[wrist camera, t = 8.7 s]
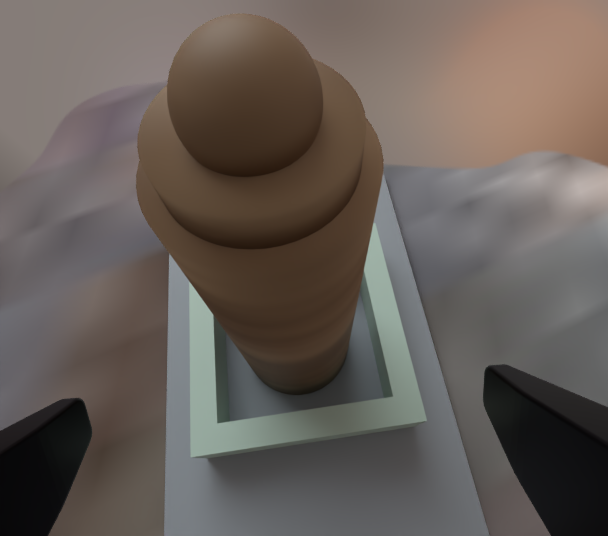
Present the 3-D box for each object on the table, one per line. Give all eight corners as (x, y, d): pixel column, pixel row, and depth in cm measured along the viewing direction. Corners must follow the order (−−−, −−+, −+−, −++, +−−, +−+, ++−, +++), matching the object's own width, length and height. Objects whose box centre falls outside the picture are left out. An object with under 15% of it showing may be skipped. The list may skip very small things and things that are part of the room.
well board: (490, 555, 15) (523, 573, 12) (168, 607, 14) (136, 635, 12) (381, 176, 23) (387, 142, 20) (173, 206, 23) (155, 175, 20)
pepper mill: (368, 352, 18) (489, 42, 5) (284, 417, 17) (150, 240, 4) (308, 278, 20) (277, -93, 7) (228, 333, 18) (6, 16, 6)
